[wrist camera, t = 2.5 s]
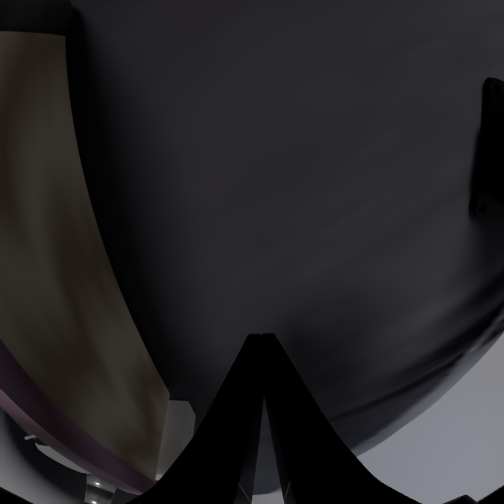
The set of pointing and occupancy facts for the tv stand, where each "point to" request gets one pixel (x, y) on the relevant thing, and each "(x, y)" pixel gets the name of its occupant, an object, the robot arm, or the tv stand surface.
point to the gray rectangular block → (175, 434)
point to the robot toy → (56, 455)
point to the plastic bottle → (98, 491)
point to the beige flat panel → (64, 275)
